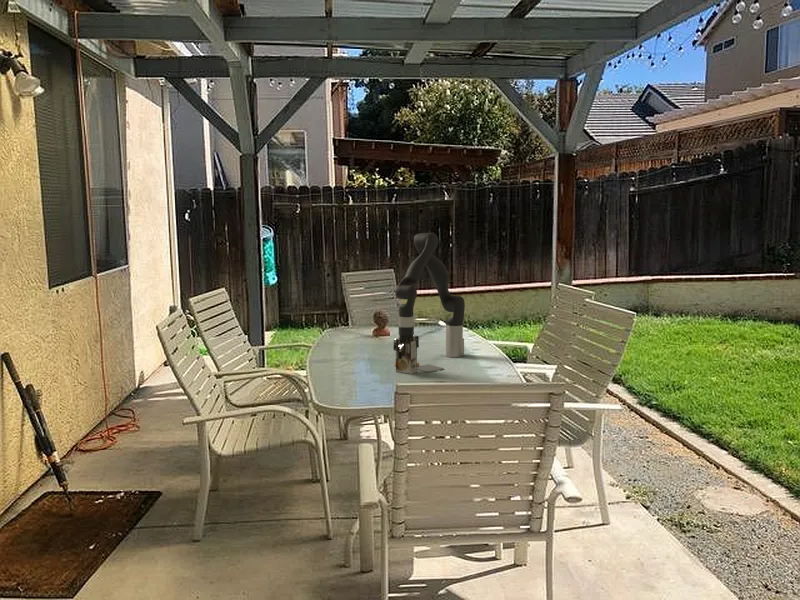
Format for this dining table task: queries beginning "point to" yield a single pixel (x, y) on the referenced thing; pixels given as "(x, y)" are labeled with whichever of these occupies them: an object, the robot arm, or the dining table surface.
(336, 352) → the dining table surface
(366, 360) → the dining table surface
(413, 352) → the coffee box
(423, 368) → the rubber mat
